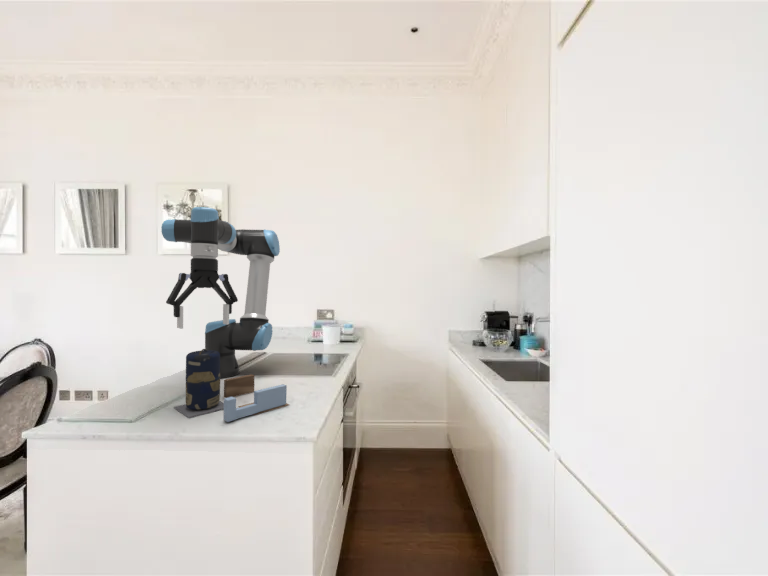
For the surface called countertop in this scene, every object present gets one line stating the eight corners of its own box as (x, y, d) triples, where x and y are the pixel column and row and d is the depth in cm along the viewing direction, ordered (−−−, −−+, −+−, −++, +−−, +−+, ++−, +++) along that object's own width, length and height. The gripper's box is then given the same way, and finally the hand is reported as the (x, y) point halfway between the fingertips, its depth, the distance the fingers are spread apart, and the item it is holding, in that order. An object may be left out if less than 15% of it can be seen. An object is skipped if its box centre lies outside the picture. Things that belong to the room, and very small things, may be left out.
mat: (173, 408, 105) (173, 406, 105) (213, 398, 114) (213, 397, 114) (188, 418, 97) (188, 417, 97) (230, 407, 106) (230, 406, 106)
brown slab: (220, 397, 115) (221, 380, 115) (254, 390, 124) (254, 373, 124) (254, 415, 101) (254, 395, 101) (289, 405, 110) (289, 386, 110)
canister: (225, 402, 110) (226, 346, 110) (207, 412, 101) (208, 352, 101) (198, 400, 111) (199, 345, 111) (177, 411, 102) (178, 351, 102)
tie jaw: (223, 419, 96) (223, 398, 96) (282, 402, 110) (283, 384, 110) (227, 422, 94) (227, 400, 94) (287, 404, 109) (287, 385, 109)
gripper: (162, 255, 94) (162, 331, 94) (248, 260, 113) (248, 323, 113) (154, 255, 99) (153, 328, 99) (238, 260, 118) (237, 321, 118)
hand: (204, 326), depth 106 cm, fingers open, 13 cm apart
